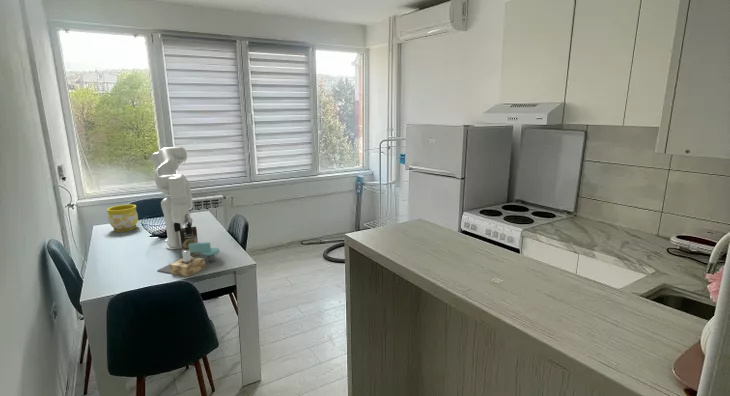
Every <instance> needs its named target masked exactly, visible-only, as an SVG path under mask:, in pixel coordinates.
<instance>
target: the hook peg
mask: <svg viewBox="0 0 730 396" xmlns="http://www.w3.org/2000/svg"><path fill="white" fill-rule="evenodd" d="M181 254H182V258H183V262H184V264H188V263H190V262H191V257H192V256H191V255H190V250H183V251H182V250H181Z"/></svg>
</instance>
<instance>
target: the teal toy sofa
mask: <svg viewBox="0 0 730 396" xmlns="http://www.w3.org/2000/svg"><path fill="white" fill-rule="evenodd" d="M188 246H189V250H190V253H193V252H199V253H201V255H202V256H205V257H207V262H208V263H214V262H216V261H217V260H216V255H218V254H219V253H220V248H219V247H211V242H210V241H208V242H198V243H190V244H189V245H188Z"/></svg>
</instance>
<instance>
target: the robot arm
mask: <svg viewBox="0 0 730 396" xmlns="http://www.w3.org/2000/svg"><path fill="white" fill-rule="evenodd" d="M187 153H188V152H187V151H186V149H185V148H184V147H183V146H170V147H167V146H166V147H163V148H160V149H159V150H158V151H156V152H153V153H151V162H152V164H153V166H154V168H155V171H154V176H153V177H154V183H155V185H156V188H157V189H158V190H160V191H161V193H162V194H163V195H164V196H169V197H165V198H163V199H162V200H161V201H160V207H161V210H162V213H163V217H164V222H165V229H166V234H167V235H166V236H167V238H166V239H165V240H164V243H166V245H165V248H166V249H167V250H179V249H182V246H181V238H180V231H181V228H185V232H186V235H188V234H191V233H192V228H191V227H193V218H192V217H191V213H190V211H191V210H192V209H193V207H194V204H193V196H192V191H191V190H192V189H191V185H190V181H189V180H188V179H187V177H186V176H185V175H184V174H182V173H178V174H175V172H177V170H178V169H179V165H183V164H185V163H186V161H187V160H188V154H187Z"/></svg>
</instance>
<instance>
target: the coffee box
mask: <svg viewBox="0 0 730 396" xmlns="http://www.w3.org/2000/svg"><path fill="white" fill-rule="evenodd" d="M191 228H192V233H191V234H188V235H186V232H185V227H183V228H181V231H180V238H181V246H182V248H181V252H182V251H183V250H189V246H188V245H189V244H190V243H199V240H198V232H197V226H191ZM190 255H191V257H195V256H199V255H200V252H193V253H190Z"/></svg>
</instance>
